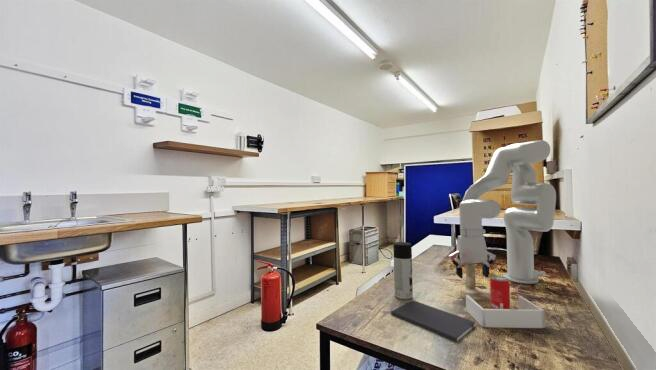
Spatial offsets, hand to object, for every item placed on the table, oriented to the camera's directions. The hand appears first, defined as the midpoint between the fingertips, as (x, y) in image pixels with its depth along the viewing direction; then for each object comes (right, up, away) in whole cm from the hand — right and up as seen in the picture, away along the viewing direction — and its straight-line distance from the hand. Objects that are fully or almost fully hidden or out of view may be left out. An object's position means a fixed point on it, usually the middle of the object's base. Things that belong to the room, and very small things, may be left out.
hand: (472, 276), depth 105 cm
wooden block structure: (-1, -6, -2) cm, 7 cm away
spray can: (-28, -7, -3) cm, 29 cm away
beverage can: (-2, -6, -19) cm, 20 cm away
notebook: (-24, -7, -21) cm, 33 cm away
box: (-2, -6, -21) cm, 21 cm away
